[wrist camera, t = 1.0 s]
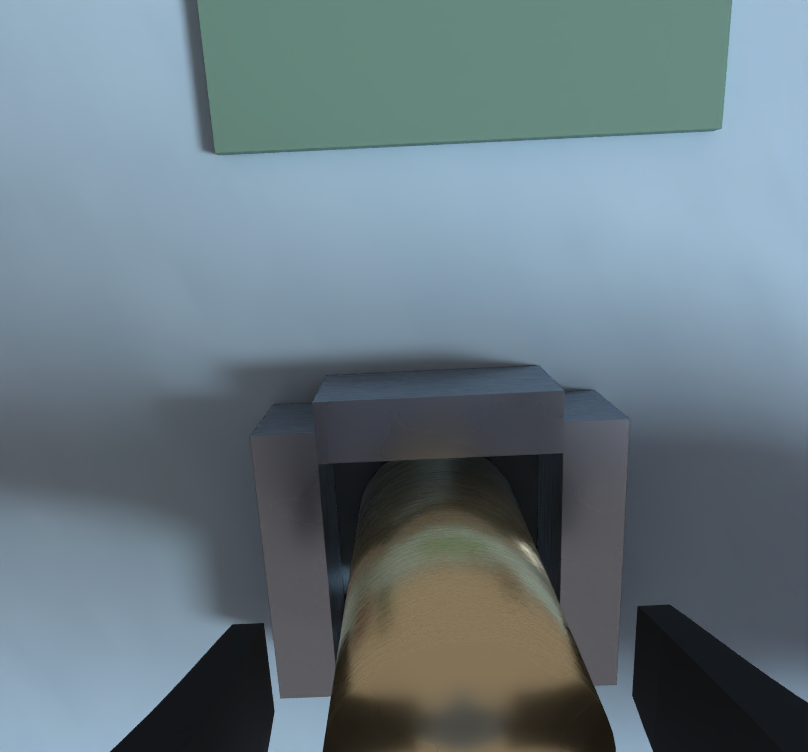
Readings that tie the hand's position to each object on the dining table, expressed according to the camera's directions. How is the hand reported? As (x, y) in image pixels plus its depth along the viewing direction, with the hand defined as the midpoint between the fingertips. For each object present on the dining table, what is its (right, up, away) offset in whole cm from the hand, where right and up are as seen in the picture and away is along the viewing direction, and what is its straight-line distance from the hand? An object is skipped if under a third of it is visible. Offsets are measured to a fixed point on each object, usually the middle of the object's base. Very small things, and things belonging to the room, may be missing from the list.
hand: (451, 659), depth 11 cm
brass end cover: (0, +1, +5) cm, 6 cm away
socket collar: (0, +1, +5) cm, 6 cm away
